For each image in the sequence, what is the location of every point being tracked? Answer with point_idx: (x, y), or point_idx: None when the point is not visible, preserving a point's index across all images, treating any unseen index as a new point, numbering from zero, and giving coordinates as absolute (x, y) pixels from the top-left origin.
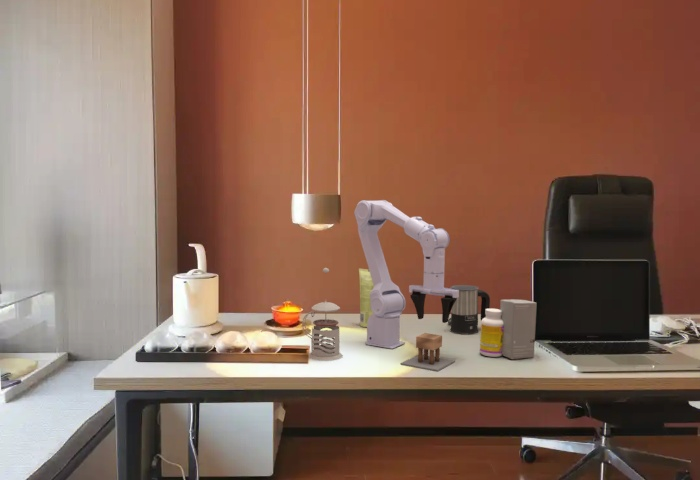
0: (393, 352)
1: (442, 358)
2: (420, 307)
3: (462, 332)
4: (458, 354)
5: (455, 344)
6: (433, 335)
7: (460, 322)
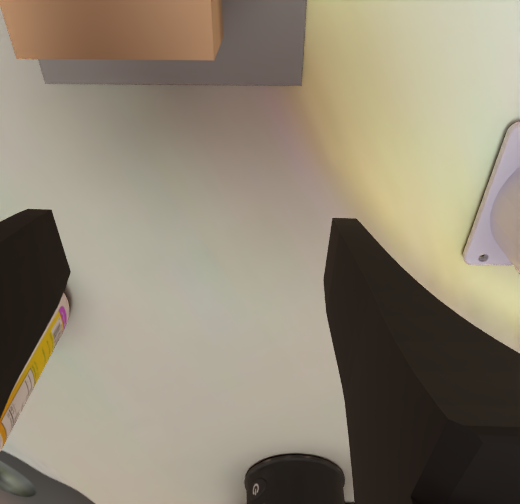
0: (486, 57)
1: (129, 76)
2: (359, 329)
3: (282, 461)
4: (133, 226)
5: (237, 351)
6: (80, 5)
7: (292, 501)
